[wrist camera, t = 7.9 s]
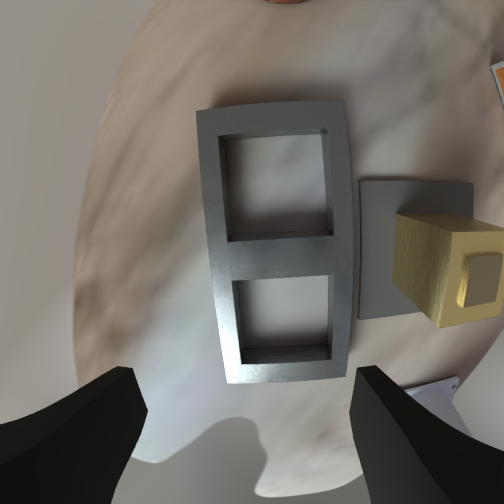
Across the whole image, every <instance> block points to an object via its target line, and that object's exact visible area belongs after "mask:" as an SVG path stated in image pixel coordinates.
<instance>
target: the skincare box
mask: <svg viewBox="0 0 504 504" xmlns="http://www.w3.org/2000/svg"><path fill="white" fill-rule="evenodd" d="M491 69H492V71H493V74H494V76H495V79H496V82H497V86H498V89H499V92H500V95H501V98H502V102H503V106H504V60H503V61H501V62H499V63H496V64H493V65H491Z"/></svg>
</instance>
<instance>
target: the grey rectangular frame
mask: <svg viewBox="0 0 504 504" xmlns="http://www.w3.org/2000/svg"><path fill="white" fill-rule="evenodd" d="M196 120H197V135H198V148H199V161H200V173H201V184H202V195H203V205H204V215H205V224H206V234H207V243H208V251H209V260H210V268H211V276H212V283H213V291H214V298H215V306H216V313H217V320H218V327H219V333H220V340H221V346H222V353H223V359H224V365H225V371H226V377H227V383H270V382H292V381H307V380H319V379H329V378H338V377H346V371H347V362H348V352H349V341H350V328H351V313H352V292H353V203H352V182H351V167H350V154H349V143H348V133H347V124H346V116H345V108H344V101H285V102H269V103H256V104H246V105H236V106H228V107H220V108H213V109H206V110H199V111H196ZM309 134H321V137H322V148H323V159H324V172H325V187H326V205H327V229H328V230H311V231H294V232H277V233H262V234H247V235H232V226H231V215H230V204H229V193H228V182H227V170H226V158H225V146H224V141H227V140H236V139H246V138H257V137H270V136H286V135H309ZM319 275H328V328H327V344H318V345H305V346H290V347H270V348H244V342H243V333H242V324H241V315H240V306H239V296H238V287H237V280H254V279H272V278H289V277H304V276H319Z"/></svg>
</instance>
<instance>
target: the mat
mask: <svg viewBox="0 0 504 504" xmlns="http://www.w3.org/2000/svg"><path fill="white" fill-rule="evenodd" d="M358 182H359V204H360V279H359V301H358V319H359V320H362V319H371V318H379V317H387V316H395V315H402V314H409V313H416V312H422V311H421V310H420V309H419V308H418V307H417V306H416V305H415V304H414V303H413V302H412V301H411V300H410V299H409V298H408V297H407V296H406V295H405V294H403V293H402V292H401V291H400V290H399V289H398V288H397V287H396V286H395V285H394V284H393V283H392V275H393V261H394V242H395V213H451V214H455V215H459V216H463V217H466V218H470V219H473V184H472V183H456V182H433V181H358Z"/></svg>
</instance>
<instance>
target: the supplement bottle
mask: <svg viewBox="0 0 504 504" xmlns="http://www.w3.org/2000/svg"><path fill="white" fill-rule="evenodd" d="M265 1H268V2H273V3H281V4H293V3H300V2H304V1H307V0H265Z"/></svg>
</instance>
